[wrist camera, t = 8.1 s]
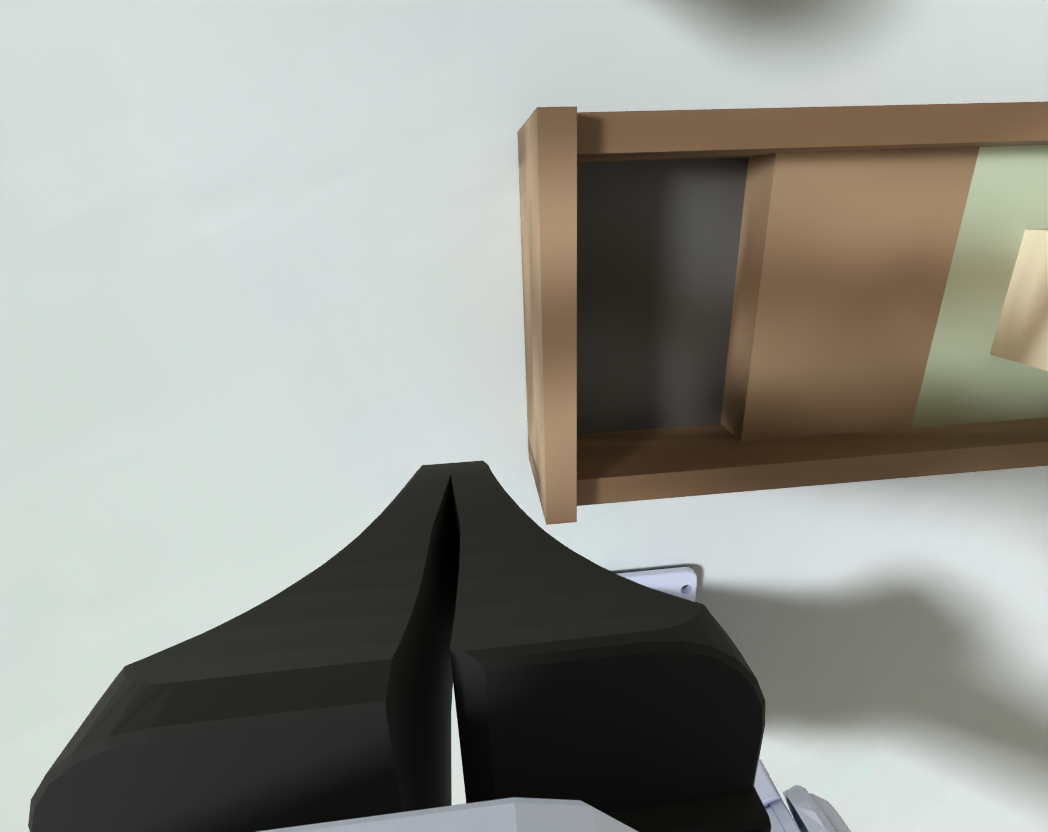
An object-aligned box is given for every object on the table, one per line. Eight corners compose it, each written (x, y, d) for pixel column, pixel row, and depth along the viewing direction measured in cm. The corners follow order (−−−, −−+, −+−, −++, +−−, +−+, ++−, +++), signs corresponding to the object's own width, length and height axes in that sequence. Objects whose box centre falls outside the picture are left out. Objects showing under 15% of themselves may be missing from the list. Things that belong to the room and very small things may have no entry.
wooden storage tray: (1038, 418, 24) (1173, 469, 20) (528, 458, 23) (546, 524, 18) (1140, 115, 20) (1343, 89, 15) (517, 131, 18) (536, 107, 13)
